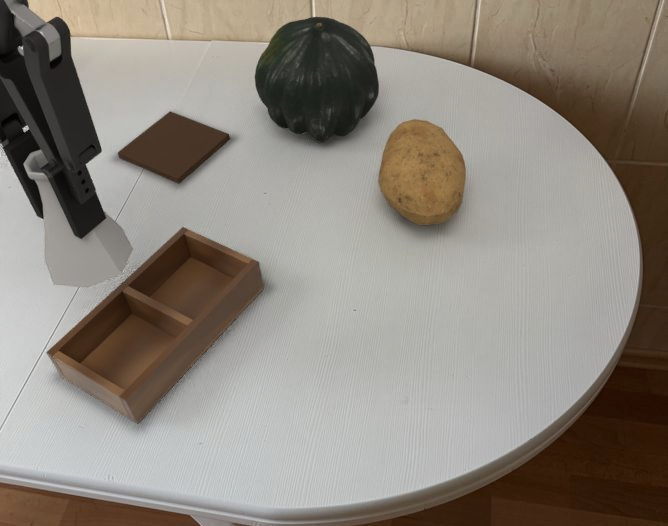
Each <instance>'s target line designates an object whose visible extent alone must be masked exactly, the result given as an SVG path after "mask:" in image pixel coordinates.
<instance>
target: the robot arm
mask: <svg viewBox="0 0 668 526" xmlns="http://www.w3.org/2000/svg"><path fill="white" fill-rule="evenodd" d="M71 35H72V34H71V30H70V27H69V25H68V24H67V22H66V21H65V20H64V19H62V18H61V17H60V16H55V17H53V18H51V19H50V20H48V21H45V20H44V19H43V18H41V17H40V16H39V15H38V14H37V13H35V12H34V11H33V10H32V9H30V6H29V2H28V0H0V144H1V146H2V150H3V153H4V155H5V156H6V158H7V161H8V162H9V164H10V167H11V168H12V171H14V174H15V175H16V177H17V180H18V182H19V184H20V185H21V188H22V189H23V191H24V193H25V195H26V197H27V200H28V201H29V203H30V205H31V207H32V209H33V211H34V214H35V215H36V217H37V218H40V219H42V220H43V221H44V216H43V204H42V200H41V196H40V192H39V188H38V185H37V183H36V182H35V180H34V179H30V178H29V177H28V174H27V172H26V169H25V167H24V165H23V164H24V162H25V161H26V159H27V158H28V156H29V154H30V153H32V152H35V151H38V150H42V152H43V154H44V156H45V158H46V159H47V161H48V163H47V164H46V165H44V166H43V167H42V168H40V169H41V171H42V172H43V173H44V174H45V175H46V176H47V178H48V180H49V182H50V184H51V186H52V188H53V191H54V193H55V195H56V197H57V199H58V201H59V203H60V206H61V208H62V210H63V212H64V214H65V216H66V218H67V221H68V223H69V225H70V227H71V229H72V231H73V233H74V236H76V237H78V238H80V239H82V238H83V237H85V236H86V235H87V234H88V233H89V232H91V231H92V230H93V229H94V228H95V227H97V226H98V225H99V224H100V223H101V222H102V221H104V220H105V219H106V215H105V213H104V212H105V211H104V208H103V206H102V203H101V200H100V199H99V196H98V193H97V190H96V186H95V183H94V182H93V179H92V176H91V174H90V171H89V169H88V166H87V164H88V163H89V162H91V161H92V160H93V159H95V158H96V157H98V156H99V155H100V154H101V153H102V152H103V148H102V145H101V143H100V139H99V136H98V132H97V130H96V127H95V123H94V120H93V118H92V114H91V111H90V108H89V106H88V105H89V104H88V102H87V99H86V96H85V93H84V89H83V87H82V84H81V79H80V77H79V74H78V72H77V71H78V70H77V69H76V65H75V61H74V59H73V56H72V37H71ZM25 127H28V129H26V130H25V131H24V128H25Z"/></svg>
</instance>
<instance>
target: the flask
mask: <svg viewBox="0 0 668 526" xmlns="http://www.w3.org/2000/svg"><path fill="white" fill-rule="evenodd" d="M47 163H48V161H47V159H46V158H45V156H44V154H43V152H42V150H38V151H35V152H32V153H30V154H29V156H28V158H27V159H26V161H25V162H24V164H23V165H24V167H25V169H26V172H27V174H28V177H29V178H30V179H34V180H35V182H36V183H37V185H38V188H39V192H40V196H41V200H42V204H43V216H44V220H43V229H44V231H43V232H44V233H43V234H44V237H43V238H44V242H43V243H44V263H45V265H46V268H47V271H48V273H49V276H50V278H51V281H52V284H53V285H55V286H64V287H74V288H86V289H87V288H90V287H92V286H96V285H98V284H100V283H103V282H106V281H109V280H111V279H113V278H117V277H119V276H121V275H123V272H124V271H125V268H126V266H127V264H128V261H129V259H130V257H131V255H132V252H133V250H134V248H133V246H132V244H131V242H130V240H129V239H128V236H127V234H126V232H125V230H124V228H123V227H122V226H121V225H120V224H119V223H118V222H117V221H116V220H114V218H112V217H111V215H109V214H108V213H107V211H104V213H105V215H106V219H105V220H104V221H102V222H101V223H100V224H99V225H98V226H97V227H95V228H94V229H93V230H92V231H91V232H89V233H88V234H87V235H86V236H85V237H83V238H82V239H80V238H78V237H76V236H74V233H73V231H72V229H71V227H70V225H69V223H68V221H67V218H66V216H65V214H64V212H63V210H62V208H61V206H60V203H59V201H58V199H57V197H56V195H55V193H54V191H53V188H52V186H51V184H50V182H49V180H48V178H47V176H46V175H45V174H44V173H43V172H42V171H41V169H40V168H42V167H43V166H44V165H46V164H47Z"/></svg>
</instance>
